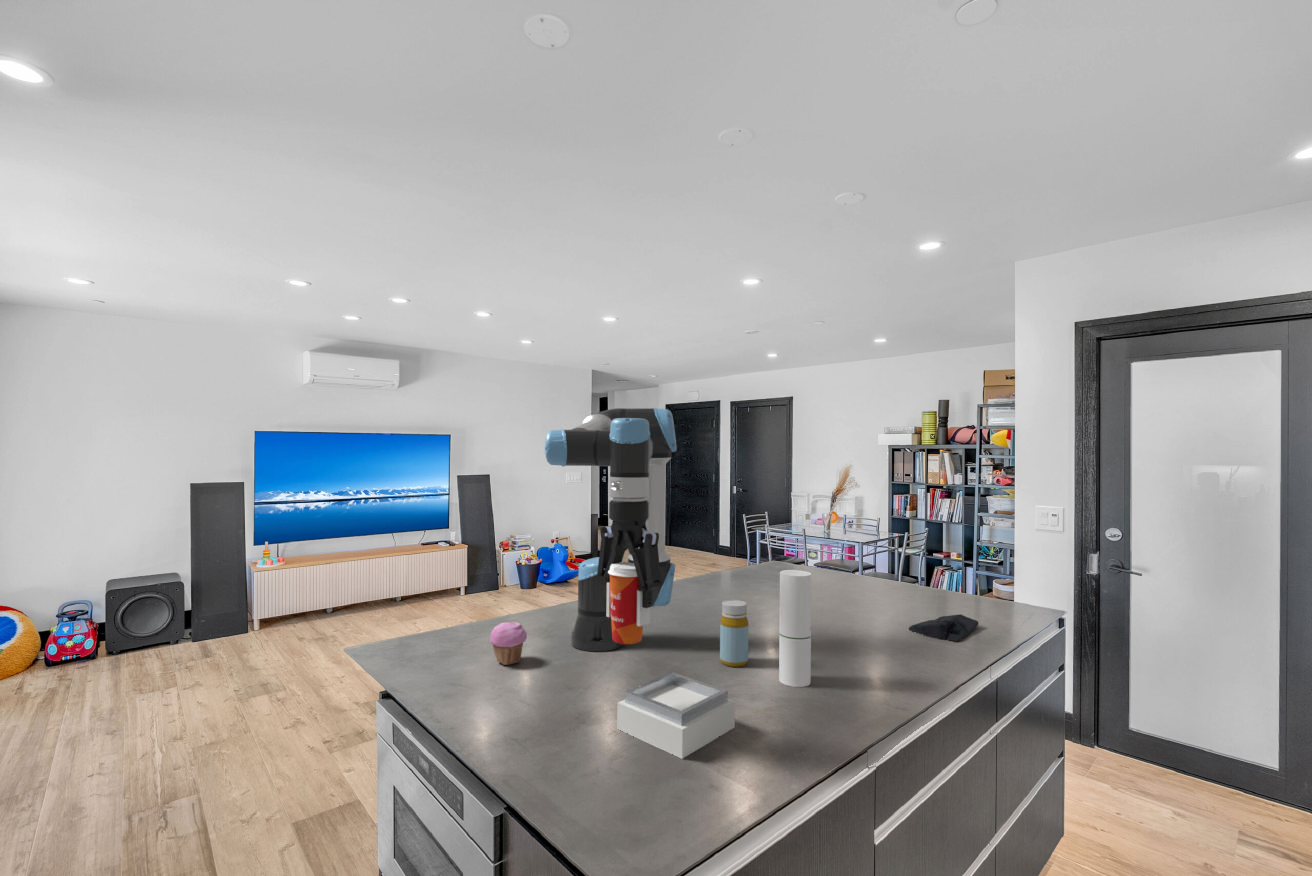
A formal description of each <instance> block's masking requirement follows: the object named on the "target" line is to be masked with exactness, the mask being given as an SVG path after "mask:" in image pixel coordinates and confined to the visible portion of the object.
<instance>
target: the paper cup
mask: <svg viewBox="0 0 1312 876" xmlns="http://www.w3.org/2000/svg"><path fill="white" fill-rule="evenodd" d="M623 562H625V563H623ZM608 573H609V574H610V598H611V622H612V639H613V641H614V642H616V643H620V644H625V645H633V644H638V643H640V642H641V641H642V639H643V632H644V631H643V629H644V628H643V627H644V625H643V626H640V627H639V626H637V590H638V589H639V588H640V584H639V580H638V576H637V573H636V569H635V565H634V563H631V562H628V561H622V562H620V563H614V564H611V566H610V570H609V571H608Z"/></svg>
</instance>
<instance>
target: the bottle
mask: <svg viewBox="0 0 1312 876" xmlns="http://www.w3.org/2000/svg"><path fill="white" fill-rule="evenodd" d="M721 611H722V612H721V618H720V621H719V622H720V624H719V627H720V628H719V660H720V662H721V664H722V665H724V666H726V667H730V668H741V667H745V666H746V665H747V663H749V620H748V616H747V614H748V613H747V611H748V604H747V602H746V601H743V600H738V599H729V600H728V599H727V600H724V601H722V603H721Z"/></svg>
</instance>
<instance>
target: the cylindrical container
mask: <svg viewBox="0 0 1312 876" xmlns="http://www.w3.org/2000/svg"><path fill="white" fill-rule="evenodd" d="M778 626H779V629H778V631H779V635H778V636H779V639H778V640H779V642H778V643H779V645H778V646H779V647H778V650H779V652H778V653H779V655H778V657H779V658H778V659H779V660H778V661H779V662H778V663H779V664H778V665H779V666H778V680H779V682H780V683H781V684H783V685H786V686H789V687H795V688H804V687H808V686H810V685H811V682H812V681H811V678H812V669H811V668H812V667H811V663H812V662H811V661H812V655H811V654H812V649H811V648H812V647H811V646H812V573H811V572H809V571H805V570H799V569H798V570H797V569H785V570H781V571H779V625H778Z"/></svg>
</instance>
